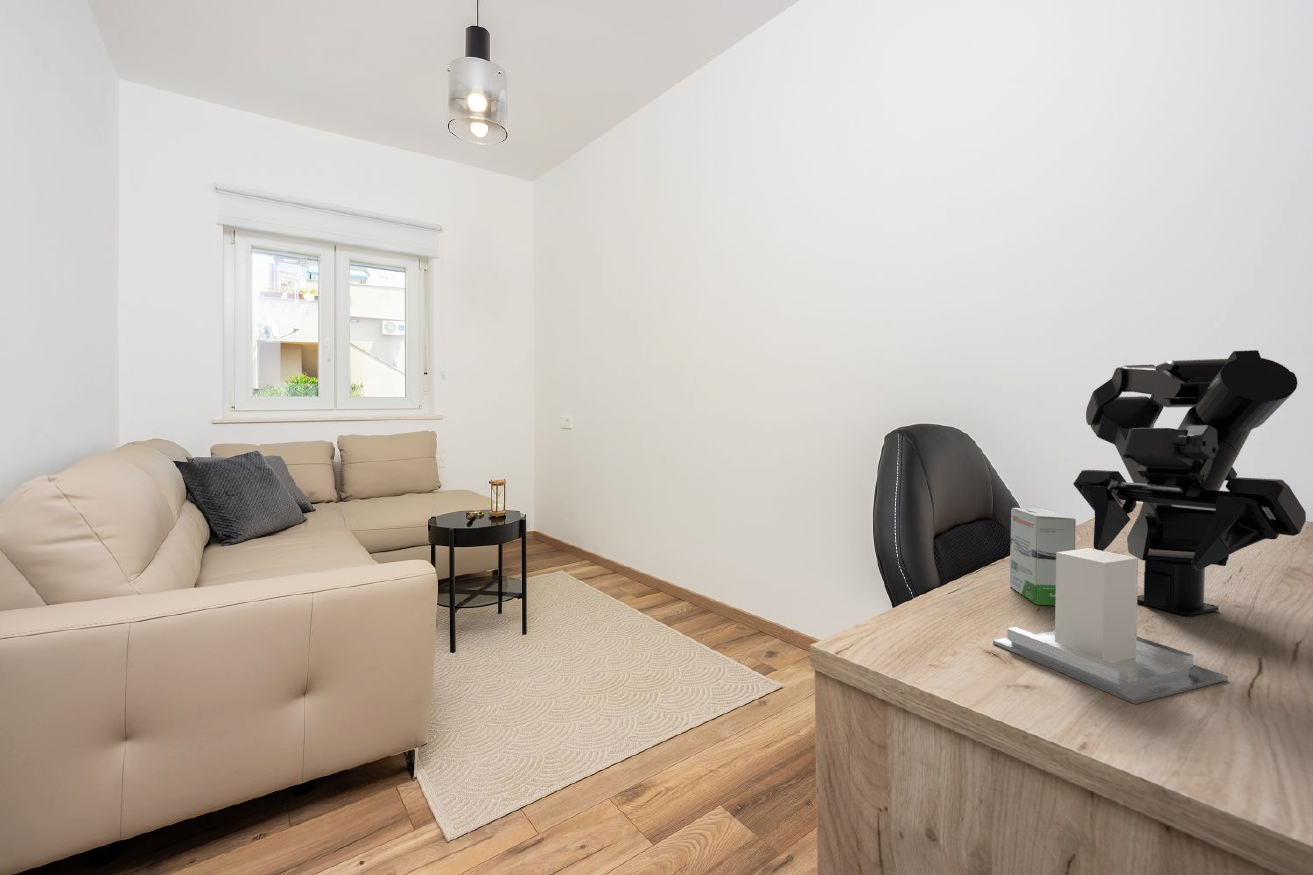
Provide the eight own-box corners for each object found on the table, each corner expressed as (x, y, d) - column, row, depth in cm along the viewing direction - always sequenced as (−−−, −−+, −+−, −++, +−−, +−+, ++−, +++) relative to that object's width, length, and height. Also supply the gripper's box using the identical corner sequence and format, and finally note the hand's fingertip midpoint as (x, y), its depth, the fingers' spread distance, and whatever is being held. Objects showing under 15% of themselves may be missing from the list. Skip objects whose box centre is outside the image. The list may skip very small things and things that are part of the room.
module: (1087, 640, 61) (1088, 548, 60) (1135, 657, 56) (1138, 558, 56) (1054, 647, 59) (1056, 552, 59) (1102, 665, 55) (1104, 562, 54)
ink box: (1076, 607, 74) (1078, 517, 73) (1034, 605, 75) (1036, 516, 74) (1045, 588, 82) (1046, 506, 82) (1008, 586, 83) (1009, 506, 83)
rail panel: (1076, 628, 67) (1076, 609, 67) (1227, 680, 54) (1228, 657, 53) (992, 643, 63) (993, 623, 62) (1134, 704, 49) (1135, 679, 49)
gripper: (1081, 405, 71) (1020, 500, 68) (1286, 395, 54) (1219, 523, 50) (1124, 463, 74) (1068, 558, 71) (1332, 472, 57) (1272, 598, 53)
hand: (1142, 557), depth 61 cm, fingers open, 9 cm apart
